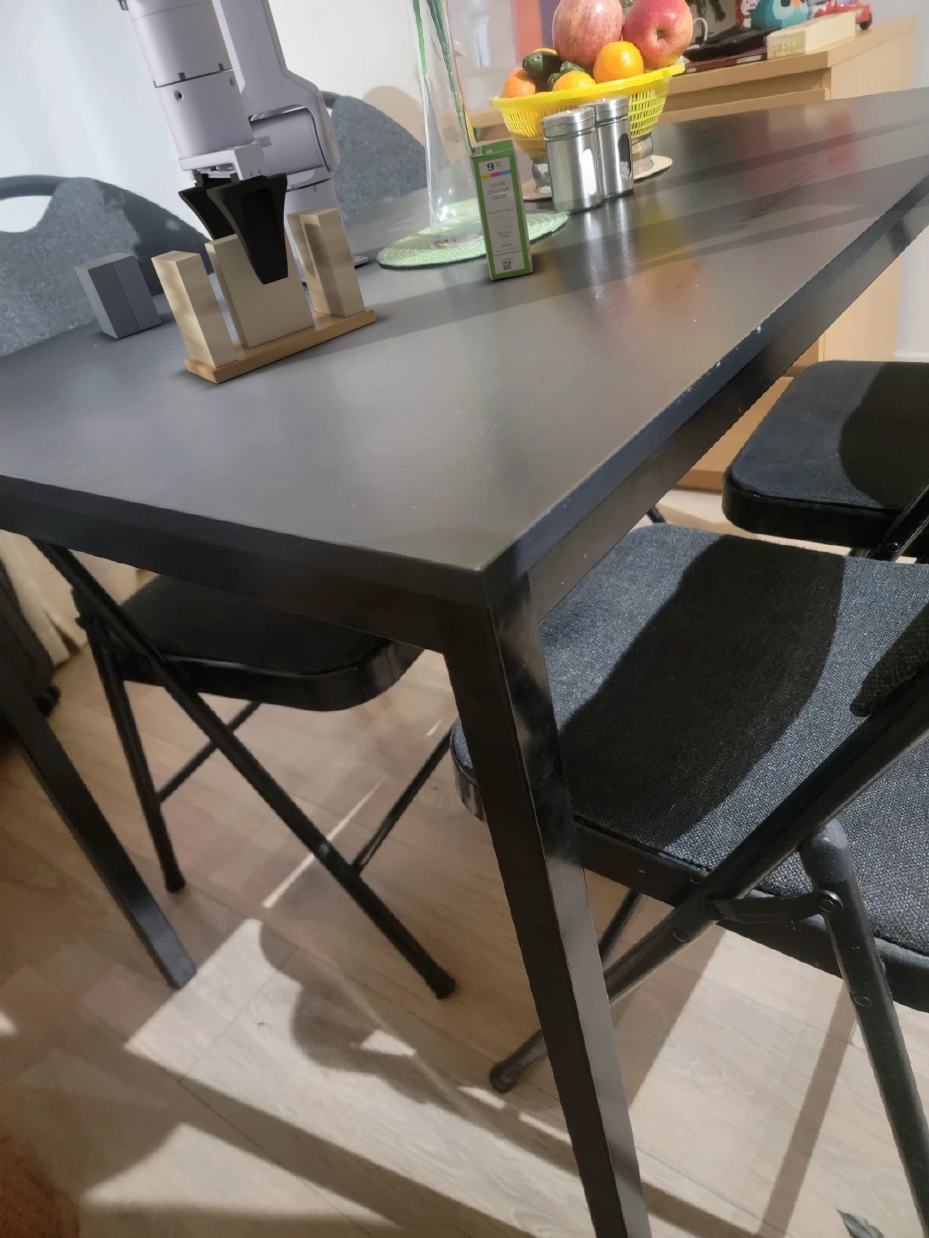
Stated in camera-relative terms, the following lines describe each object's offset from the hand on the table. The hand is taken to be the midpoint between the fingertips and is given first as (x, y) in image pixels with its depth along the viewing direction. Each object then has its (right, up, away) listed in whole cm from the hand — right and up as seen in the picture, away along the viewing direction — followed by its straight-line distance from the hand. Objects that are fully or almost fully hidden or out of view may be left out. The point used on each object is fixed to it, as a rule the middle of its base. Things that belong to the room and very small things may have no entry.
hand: (259, 276), depth 67 cm
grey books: (-19, +4, +22) cm, 30 cm away
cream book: (+1, -4, +3) cm, 5 cm away
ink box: (+21, +4, +9) cm, 23 cm away
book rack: (+1, -5, +3) cm, 6 cm away
